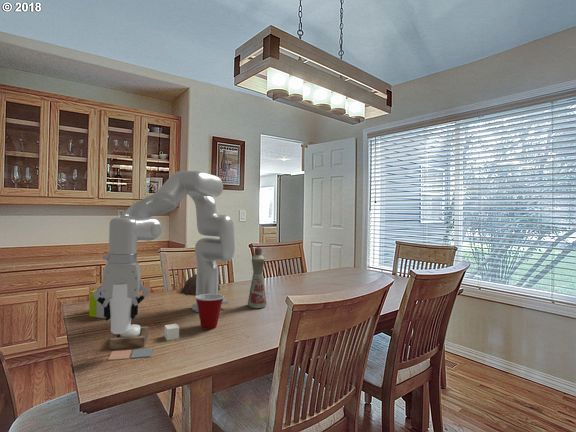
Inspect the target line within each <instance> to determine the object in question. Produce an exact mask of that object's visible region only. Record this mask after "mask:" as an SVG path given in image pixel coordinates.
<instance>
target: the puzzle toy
mask: <svg viewBox="0 0 576 432" xmlns="http://www.w3.org/2000/svg"><path fill="white" fill-rule="evenodd" d="M96 290H97V289H94V290H92V291H91V290H90V291H89V305H88V306H89V308H88V311H89V312H88V313H89V315H88V316H89V317H93V318H100V319H106V317H104V307H103V305H102V304H101V303H99V302H98V300H97V299H95V298H94V297H93V296H92V294H93V293H94V292H95V291H96ZM100 295H101V292H100ZM105 299H106V298H105Z"/></svg>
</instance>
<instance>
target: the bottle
mask: <svg viewBox="0 0 576 432" xmlns="http://www.w3.org/2000/svg"><path fill="white" fill-rule="evenodd" d="M265 259H266V258H265V257H264V255H263V248H262V247H260V246H257V247H255V248H254V255H253V256H252V257H251V265H252V271H253V272H252V273H253V274H252V278H251V284H250V290H249V295H248V299H247V300H248V301H247V305H248V307H249V308H250V309H262V308H264V307H265V308H266V306H267V296H266V289H265V287H266V286H265V280H264V275H263V272H264V266H265V261H266V260H265Z"/></svg>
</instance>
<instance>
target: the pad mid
mask: <svg viewBox="0 0 576 432" xmlns="http://www.w3.org/2000/svg"><path fill="white" fill-rule="evenodd" d="M153 348H154V347H153ZM153 348H152V347H148V348H139V349H138V348H136V349H133V350H132V352H131V354H130V356H129V358H130V360H131V359H141V358H151V357H152V352H153Z"/></svg>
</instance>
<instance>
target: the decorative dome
mask: <svg viewBox="0 0 576 432" xmlns="http://www.w3.org/2000/svg"><path fill="white" fill-rule="evenodd" d="M196 277H197V273H195V274H194V275H192V276H190V277H189V278H188V279H187V280H186V281H185V283H184V286H183V287H182V292H183V291H184V292H183V293H185V295H191V294H192V296H195V295H196ZM220 287H221V286H220V284H219V282H218V292H219V290H220V291H221V288H220Z"/></svg>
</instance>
